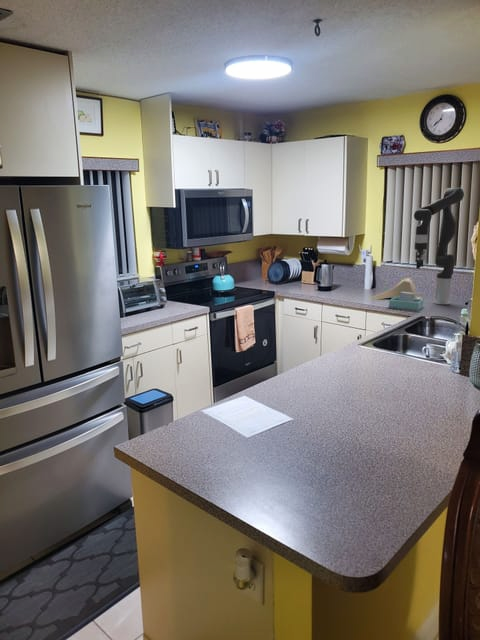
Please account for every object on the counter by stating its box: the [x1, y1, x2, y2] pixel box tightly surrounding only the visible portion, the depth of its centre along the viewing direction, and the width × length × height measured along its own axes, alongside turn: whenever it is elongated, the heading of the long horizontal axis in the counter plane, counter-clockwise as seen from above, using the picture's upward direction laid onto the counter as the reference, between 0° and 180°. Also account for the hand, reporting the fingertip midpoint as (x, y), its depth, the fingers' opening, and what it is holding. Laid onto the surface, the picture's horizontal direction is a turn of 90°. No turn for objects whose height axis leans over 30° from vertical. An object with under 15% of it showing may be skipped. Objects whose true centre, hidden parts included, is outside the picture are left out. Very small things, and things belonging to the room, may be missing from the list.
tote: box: [388, 297, 424, 312], centre depth 314 cm, size 15×18×5 cm
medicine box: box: [399, 292, 414, 302], centre depth 314 cm, size 8×4×9 cm, turn 52°
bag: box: [370, 277, 422, 301], centre depth 346 cm, size 19×17×35 cm
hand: (419, 267), depth 310 cm, fingers open, 8 cm apart
